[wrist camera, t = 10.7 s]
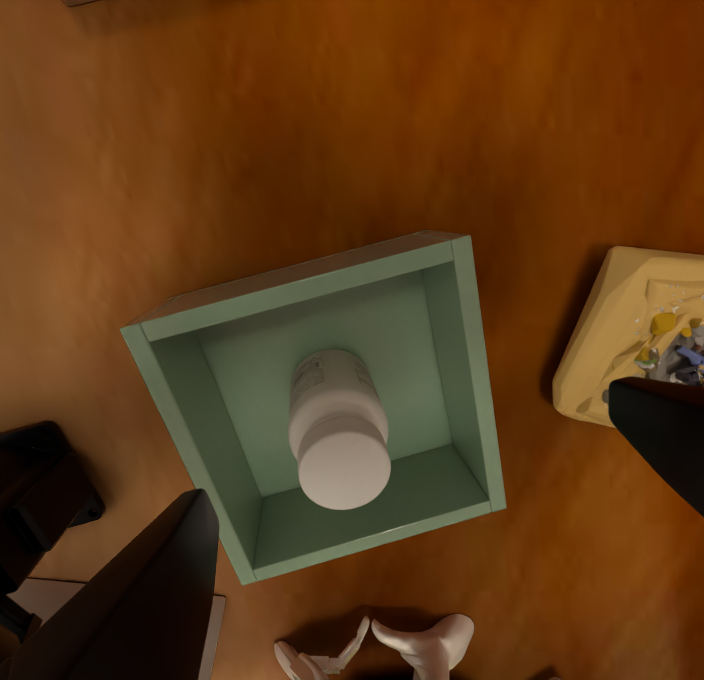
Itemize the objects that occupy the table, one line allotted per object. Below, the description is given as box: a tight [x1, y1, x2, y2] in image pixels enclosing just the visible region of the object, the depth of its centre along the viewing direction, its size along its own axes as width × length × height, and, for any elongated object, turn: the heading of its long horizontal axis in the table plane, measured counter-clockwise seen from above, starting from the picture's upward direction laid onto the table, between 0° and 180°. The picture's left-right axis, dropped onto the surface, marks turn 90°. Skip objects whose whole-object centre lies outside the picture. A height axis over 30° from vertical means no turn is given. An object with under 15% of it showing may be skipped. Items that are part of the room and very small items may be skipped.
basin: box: [120, 230, 507, 586], centre depth 19 cm, size 14×14×6 cm
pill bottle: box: [288, 349, 391, 510], centre depth 18 cm, size 4×4×8 cm
